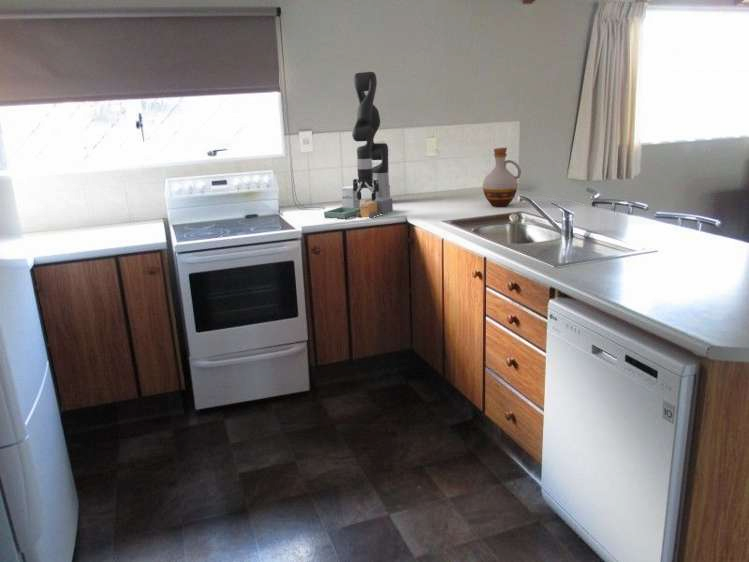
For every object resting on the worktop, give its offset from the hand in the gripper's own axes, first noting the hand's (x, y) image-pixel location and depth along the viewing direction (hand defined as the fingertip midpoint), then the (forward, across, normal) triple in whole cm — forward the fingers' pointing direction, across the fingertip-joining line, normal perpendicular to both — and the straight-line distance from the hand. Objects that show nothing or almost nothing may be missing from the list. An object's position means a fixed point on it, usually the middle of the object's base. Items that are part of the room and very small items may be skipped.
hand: (366, 200), depth 321 cm
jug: (+8, -52, -50) cm, 72 cm away
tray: (+9, +14, +2) cm, 16 cm away
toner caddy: (+9, 0, -2) cm, 9 cm away
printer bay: (+9, 0, -7) cm, 11 cm away
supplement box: (+9, +19, -13) cm, 24 cm away
